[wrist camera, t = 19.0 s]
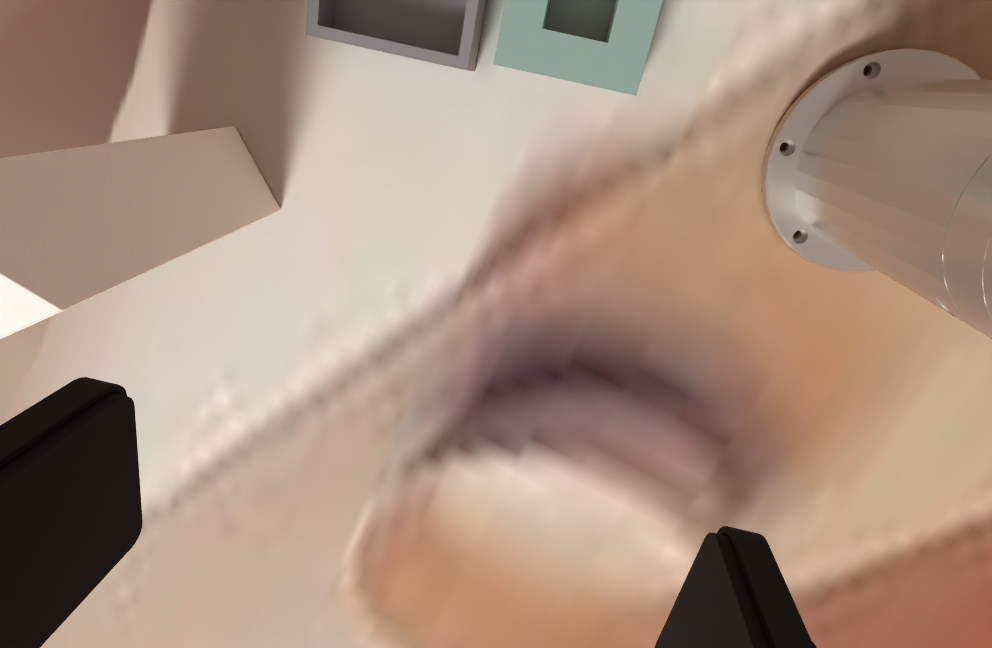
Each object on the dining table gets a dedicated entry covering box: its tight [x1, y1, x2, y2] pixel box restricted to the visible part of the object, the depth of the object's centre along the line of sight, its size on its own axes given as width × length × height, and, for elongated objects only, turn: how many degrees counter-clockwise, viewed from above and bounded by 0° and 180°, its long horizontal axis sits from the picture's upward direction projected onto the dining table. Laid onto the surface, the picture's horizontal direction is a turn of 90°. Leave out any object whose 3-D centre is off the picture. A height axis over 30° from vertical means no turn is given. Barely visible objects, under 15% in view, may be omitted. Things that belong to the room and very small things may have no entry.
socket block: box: [494, 0, 663, 95], centre depth 31 cm, size 8×8×3 cm
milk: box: [0, 126, 280, 339], centre depth 29 cm, size 6×6×22 cm
